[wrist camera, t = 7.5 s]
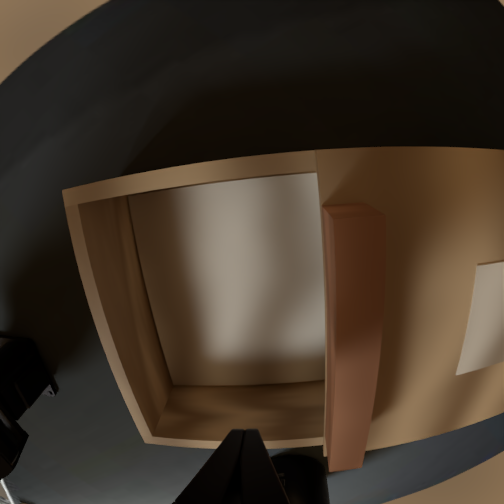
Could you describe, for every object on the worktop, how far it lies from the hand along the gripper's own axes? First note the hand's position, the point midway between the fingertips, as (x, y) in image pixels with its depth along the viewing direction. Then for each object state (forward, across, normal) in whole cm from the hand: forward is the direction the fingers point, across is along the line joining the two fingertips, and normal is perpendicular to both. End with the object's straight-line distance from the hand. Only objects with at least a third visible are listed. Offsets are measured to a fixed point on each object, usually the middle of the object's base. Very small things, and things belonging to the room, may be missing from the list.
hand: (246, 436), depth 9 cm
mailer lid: (+5, -12, 0) cm, 13 cm away
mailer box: (+12, -1, 0) cm, 12 cm away
